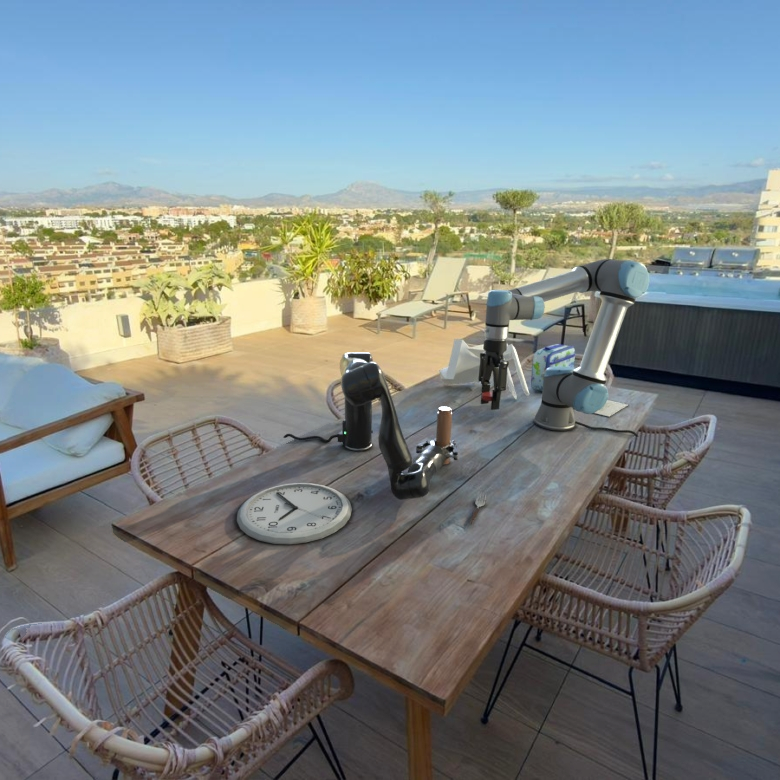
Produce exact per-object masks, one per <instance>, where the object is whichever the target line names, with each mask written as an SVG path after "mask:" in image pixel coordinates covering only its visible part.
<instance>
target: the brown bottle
mask: <svg viewBox="0 0 780 780" xmlns="http://www.w3.org/2000/svg"><path fill="white" fill-rule="evenodd" d="M452 424H453V412H452V408H451V407H449V406H440V407H438V409H437V414H436V432H435V438H436V446H439V447H440V446H441V447H442V446H444V445H449V444H450V442H451V441H452V426H453V425H452ZM450 458H451V457H449V458H448V459H446V460H445V462H444V464H443V465H442V466H446V465H448V464H450V460H451V459H450Z"/></svg>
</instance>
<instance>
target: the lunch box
mask: <svg viewBox="0 0 780 780" xmlns="http://www.w3.org/2000/svg"><path fill="white" fill-rule="evenodd" d="M575 357H576V349H575V346H572V345H565V344H560V343H555V344H552V345H547V346H545V347H542V348H539V349H537V350H536V351H535V353H534V355H533V358H532V363H531V364H532V365H531V376H530V377H531V378H530V387H531V389H532V390H536V391H539V392H540V391H541V392H542V391H543V381H544V374H545V370H546V369H547V368H549V367H556V366H565V367H574V368H575V360H576V358H575Z"/></svg>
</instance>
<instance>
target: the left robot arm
mask: <svg viewBox="0 0 780 780" xmlns="http://www.w3.org/2000/svg"><path fill="white" fill-rule="evenodd" d="M339 371H340V375H341V377H340V386H341V387H340V388H341V391H342V394H343V396H344V419H343V420H342V427H341V428H342V429H341V431H339V432H338V433H337V434H333V435H331V436H329V438H328V439H325V438H324V437H322V436H320V435H309V436H305V437H304V436H303V437H299V436H296V435H294V434H292V433H286V434H284V436H283V439H285V438H289V437H290V438H292V439H294V440H296V441H308V440H313V439H316V440H319V441H322V442H323V443H330V442H331V441H332V440H333V439H335V438H337V442H338V443H342V447H343V448H345V449H346V450H349V451H353V452H364V451H367V450H370V449H371V448H372V446H373V442H372V441H373V440H372V435H373V434H374V431H373V429H372V428H373V427H372V426H373V425H372V424H373V422H372V421H373V420H372V419H373V401H376V400H378V399H379V401H380V404H381V418H380V424H379V430H378V436H377V441H378V447H379V450H380V453H381V455H382V457H383V459H384V462H385V464H386V467H387V471H388V476H389V484H390V485H389V487H390V491H391V493H392V495H393V496H394V498H395V499H397V500H400V501H404V500H405V501H406V500H412V499H419V498H423V497H425V496H427V495H428V494H429V492H430V489H431V481H432V479H433V477H434V476H436V474H437V473H438V472H439V471H440V469H441V468H442V466H444V465H443V464H444V462H445V460H446V459H448V458H449V457H450V458H451V459H453V460H454V461H458V458H459V457H458V456H459V445H457V442H456V441H455V440H454V439H451V442H450V444H449V445H444V446H442V447H441V446H440V447H439V446H436V437H435V438H433V439H432V440H430V441H429V440H427V439H426V440H423V441H421V442H420V443H418V444H416V446H415V453H416V454H418V455H417V456H416V458H415V459H413V455H412V453H411V451H410V449H409V446H408V444H407V441H406V439H405V436H404V433H403V431H402V428H401V425H400V422H399V418H398V414H397V410H396V406H395V403H394V401H393V397H392V394H391V391H390V387H389V385H388V382H387V379H386V377H385V374H384V372H383V370H382V369H381V366H380V365H379V364H378V363H377V362H375V361H374V359H373V356H372V354H371V353H370V352H367V351H366V352H364V351H362V352H361V351H359V352H355V351H354V352H344V353H343V354H342V355H341V357H340V360H339ZM407 469H408V470H407ZM406 470H407V472H404V471H406Z"/></svg>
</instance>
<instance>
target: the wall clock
mask: <svg viewBox="0 0 780 780" xmlns="http://www.w3.org/2000/svg"><path fill="white" fill-rule="evenodd" d="M352 511H353V508H352V505H351V501H350V500H349V499H348V497H346V495H345V494H344V493H342V492H340V491H338V490H336V489H335V488H332V487H329V486H327V485H324V484H318V483H310V482H295V483H285V484H280V485H275V486H271V487H270V488H266V489H263V490H261V491H259V492H258V493H257V492H256V493H255V494H254V495H252V496H250V497H249V498H248V499H247V500H245V502H243V503H242V504H241V505H240V507H239V509H238V511H237V515H236V523H237V525H238V528H239V530H241V531H242V532H243V533H244V534H246V535H247V536H249V537H250V538H252V539H255V540H257V541H260V542H263V543H264V542H265V543H267V544H268V543H269V544H274V545H296V544H297V545H298V544H305V543H309V542H314V541H318V540H321V539H323V538H326V537H328V536H330V535H332V534H335V533H336V532H337V531H339V530H340V529H342V528H343V527H344V526H345V525H346V524H347V523H348V521H349V520H350V519H351V516H352Z"/></svg>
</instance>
